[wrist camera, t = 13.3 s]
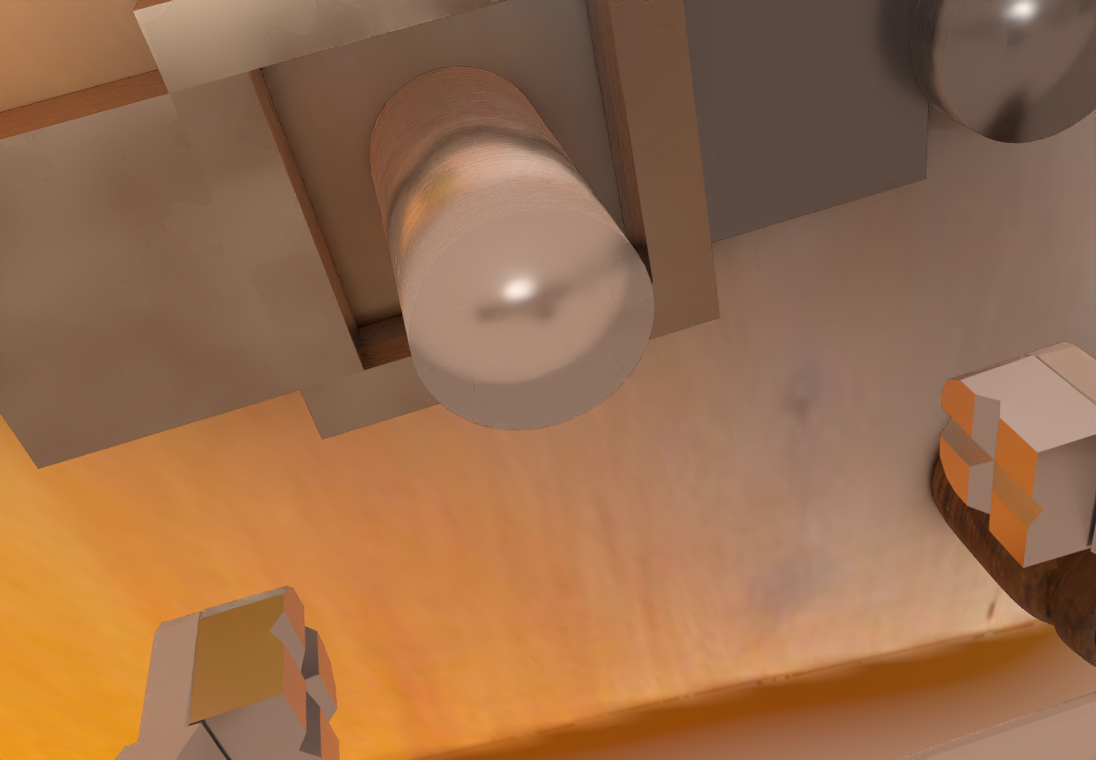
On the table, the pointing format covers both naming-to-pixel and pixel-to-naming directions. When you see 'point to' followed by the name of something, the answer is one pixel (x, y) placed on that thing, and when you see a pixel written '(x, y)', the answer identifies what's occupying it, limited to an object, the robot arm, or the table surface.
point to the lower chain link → (843, 98)
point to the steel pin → (503, 256)
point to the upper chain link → (259, 227)
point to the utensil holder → (1029, 573)
